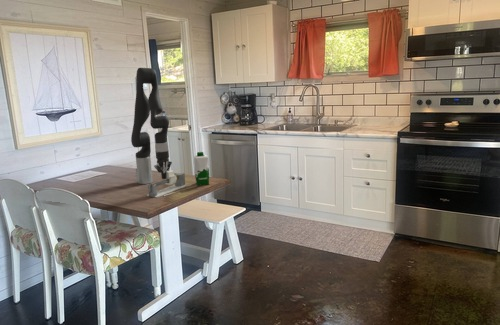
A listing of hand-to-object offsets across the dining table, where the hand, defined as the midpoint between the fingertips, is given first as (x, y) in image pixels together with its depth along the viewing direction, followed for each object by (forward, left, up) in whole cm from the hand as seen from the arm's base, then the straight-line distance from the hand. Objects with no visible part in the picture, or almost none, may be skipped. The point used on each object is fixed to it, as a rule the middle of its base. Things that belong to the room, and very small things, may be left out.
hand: (164, 178), depth 233 cm
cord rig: (0, +2, -8) cm, 8 cm away
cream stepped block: (0, +5, -4) cm, 7 cm away
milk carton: (+10, +24, -8) cm, 27 cm away
